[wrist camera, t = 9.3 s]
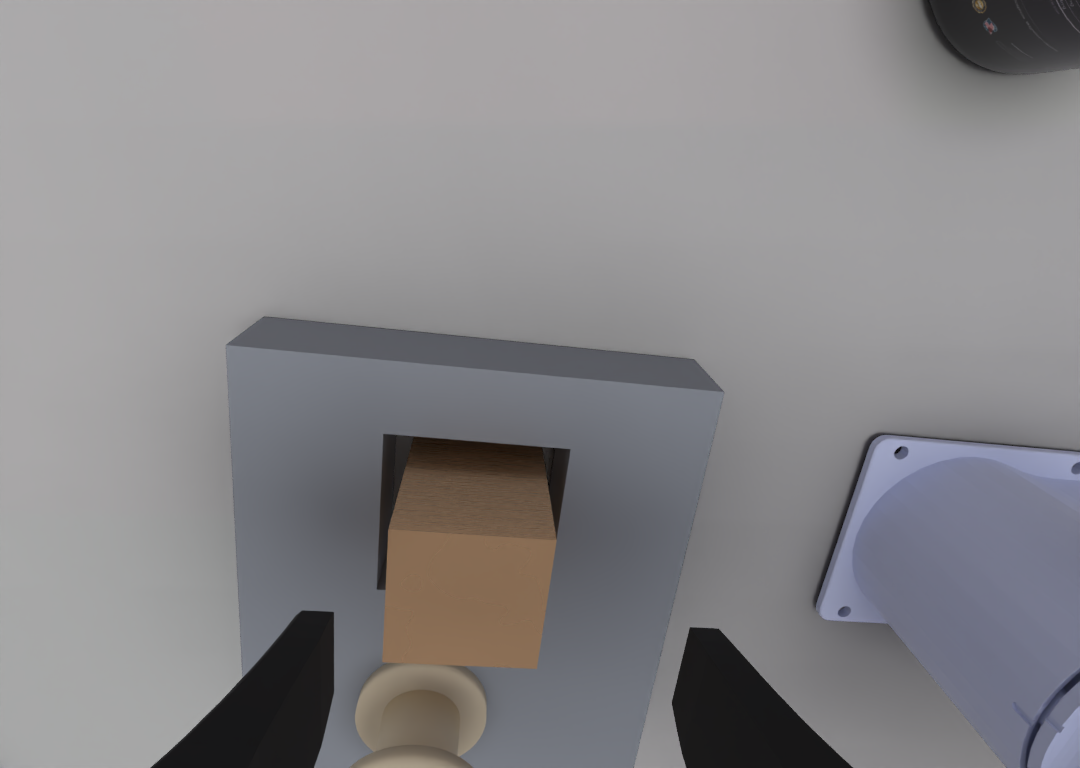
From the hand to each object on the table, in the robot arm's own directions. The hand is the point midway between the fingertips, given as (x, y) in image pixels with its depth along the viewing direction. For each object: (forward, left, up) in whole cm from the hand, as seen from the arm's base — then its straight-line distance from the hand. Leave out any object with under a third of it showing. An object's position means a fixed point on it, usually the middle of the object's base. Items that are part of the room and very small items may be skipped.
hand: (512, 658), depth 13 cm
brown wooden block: (+1, +1, -10) cm, 10 cm away
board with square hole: (+1, +4, -10) cm, 11 cm away
